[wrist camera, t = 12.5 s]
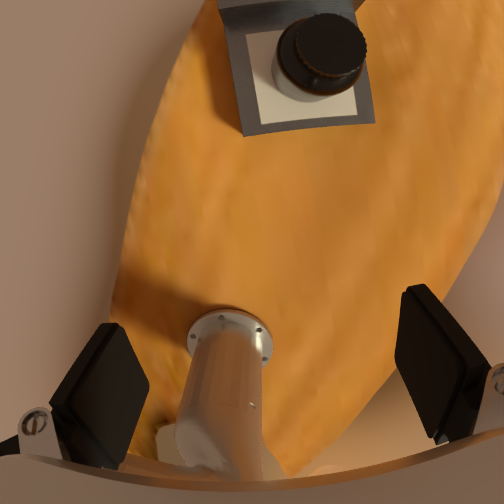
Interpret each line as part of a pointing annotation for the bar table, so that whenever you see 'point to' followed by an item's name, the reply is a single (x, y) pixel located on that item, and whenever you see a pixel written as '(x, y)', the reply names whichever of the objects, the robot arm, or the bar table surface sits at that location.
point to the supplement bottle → (318, 57)
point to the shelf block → (260, 60)
